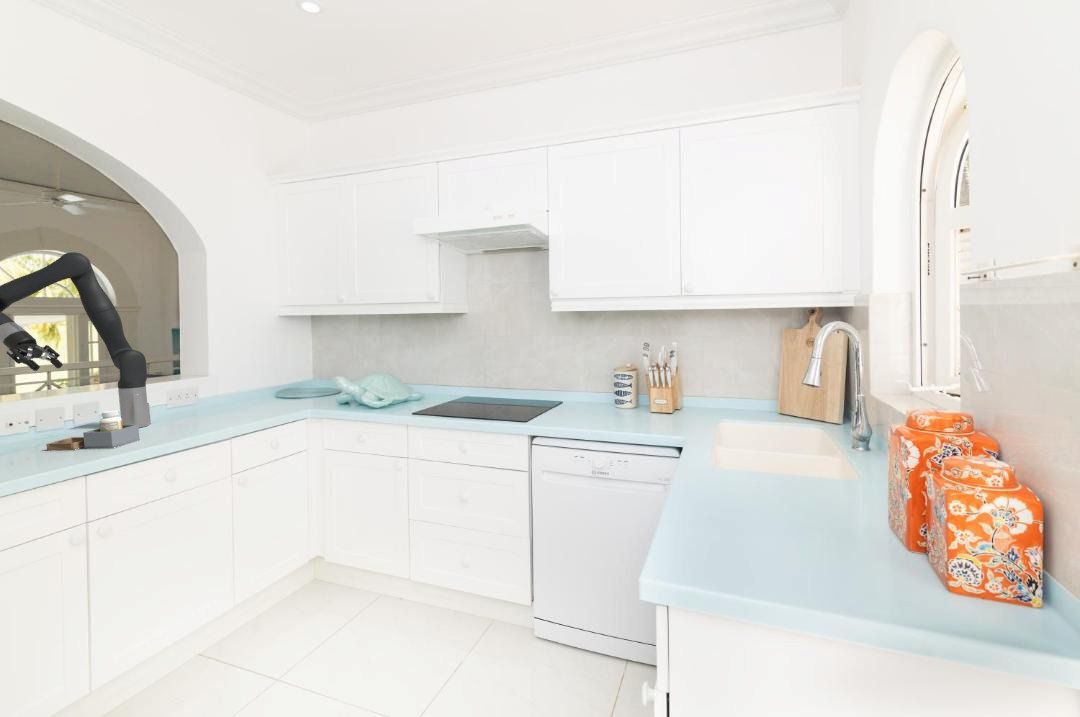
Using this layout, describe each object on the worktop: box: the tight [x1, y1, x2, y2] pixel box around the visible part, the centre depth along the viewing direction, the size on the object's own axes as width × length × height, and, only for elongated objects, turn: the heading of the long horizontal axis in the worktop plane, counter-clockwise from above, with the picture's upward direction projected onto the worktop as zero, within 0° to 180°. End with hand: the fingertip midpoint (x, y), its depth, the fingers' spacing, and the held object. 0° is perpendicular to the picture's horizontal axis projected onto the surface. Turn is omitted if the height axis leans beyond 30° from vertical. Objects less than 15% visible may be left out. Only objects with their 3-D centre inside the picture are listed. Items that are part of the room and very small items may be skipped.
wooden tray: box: [46, 436, 85, 451], centre depth 181 cm, size 10×10×2 cm
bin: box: [82, 425, 140, 449], centre depth 184 cm, size 12×10×6 cm
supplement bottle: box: [99, 410, 123, 432], centre depth 184 cm, size 6×6×11 cm
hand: (49, 367), depth 183 cm, fingers open, 8 cm apart
